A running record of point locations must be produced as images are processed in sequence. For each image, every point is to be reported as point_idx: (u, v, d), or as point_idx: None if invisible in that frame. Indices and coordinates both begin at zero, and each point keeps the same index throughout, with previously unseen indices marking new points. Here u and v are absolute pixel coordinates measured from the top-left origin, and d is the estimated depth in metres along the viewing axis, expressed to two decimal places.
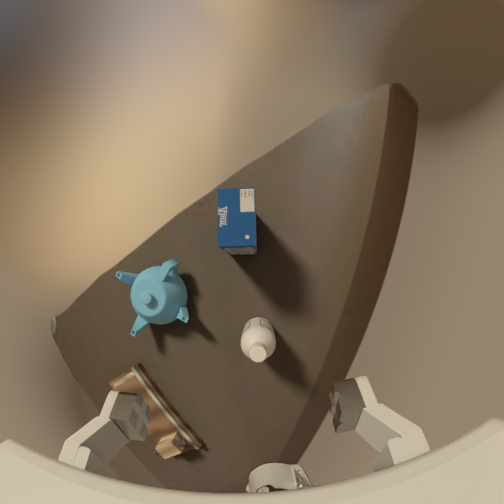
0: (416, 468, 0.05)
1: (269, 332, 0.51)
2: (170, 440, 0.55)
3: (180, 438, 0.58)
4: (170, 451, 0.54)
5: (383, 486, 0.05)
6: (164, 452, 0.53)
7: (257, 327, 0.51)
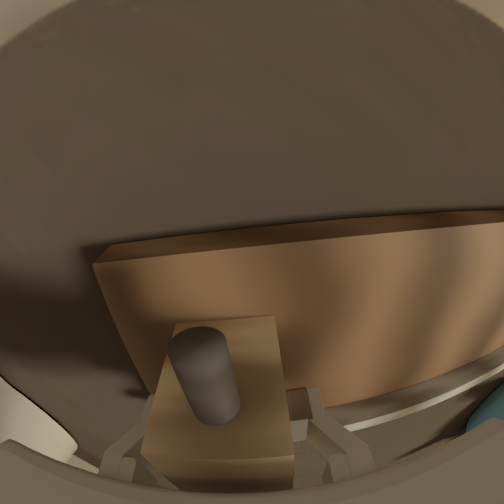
0: (416, 468, 0.05)
1: None
2: None
3: None
4: (222, 492, 0.07)
5: (383, 486, 0.05)
6: (223, 479, 0.06)
7: None
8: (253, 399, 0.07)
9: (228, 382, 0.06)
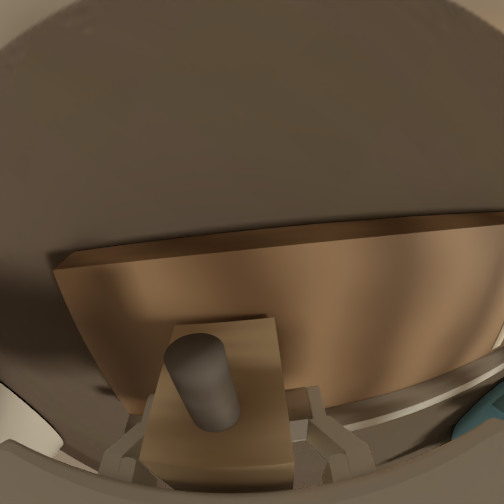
0: (416, 468, 0.05)
1: None
2: None
3: None
4: None
5: (383, 486, 0.05)
6: (222, 484, 0.06)
7: None
8: (253, 405, 0.07)
9: (227, 390, 0.06)
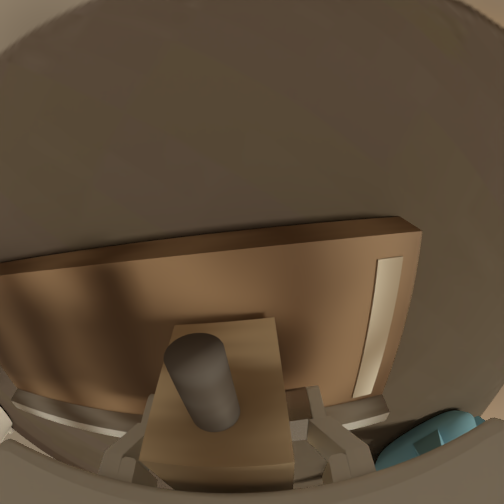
0: (416, 468, 0.05)
1: None
2: None
3: None
4: None
5: (383, 486, 0.05)
6: (222, 484, 0.06)
7: None
8: (252, 405, 0.07)
9: (227, 390, 0.06)
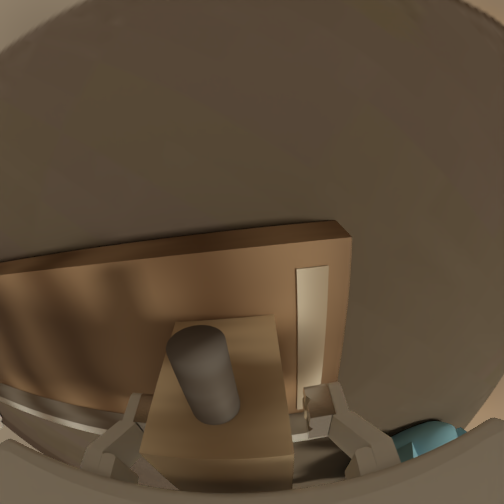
0: (416, 468, 0.05)
1: None
2: None
3: None
4: (222, 492, 0.07)
5: (383, 486, 0.05)
6: (222, 478, 0.06)
7: None
8: (252, 398, 0.07)
9: (227, 381, 0.06)
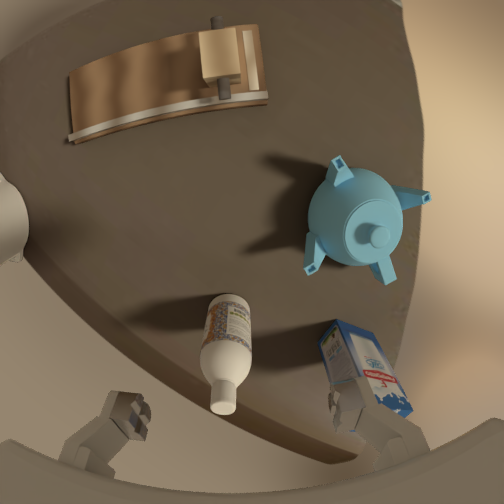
0: (416, 468, 0.05)
1: None
2: None
3: None
4: (215, 56, 0.24)
5: (383, 486, 0.05)
6: (217, 42, 0.23)
7: None
8: None
9: (222, 22, 0.23)
